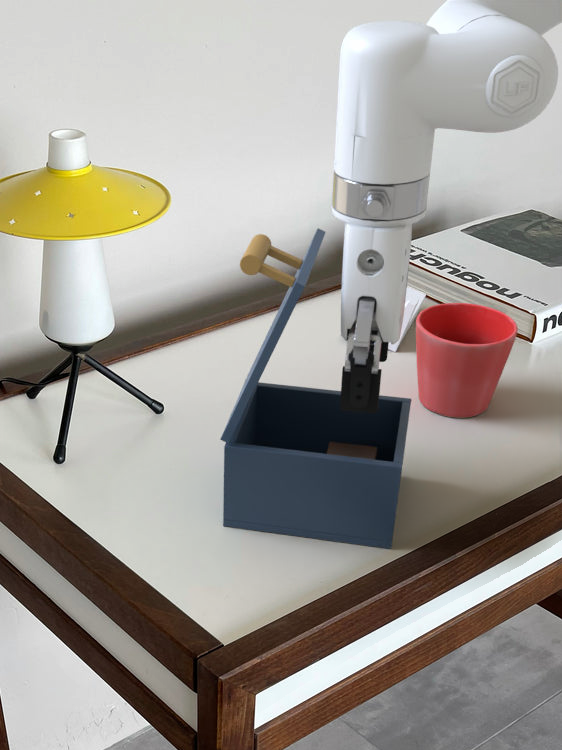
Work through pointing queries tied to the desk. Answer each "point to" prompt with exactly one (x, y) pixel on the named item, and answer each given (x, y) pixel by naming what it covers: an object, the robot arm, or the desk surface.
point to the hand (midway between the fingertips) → (364, 384)
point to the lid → (251, 266)
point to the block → (352, 450)
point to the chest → (314, 466)
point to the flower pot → (461, 356)
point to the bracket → (409, 313)
